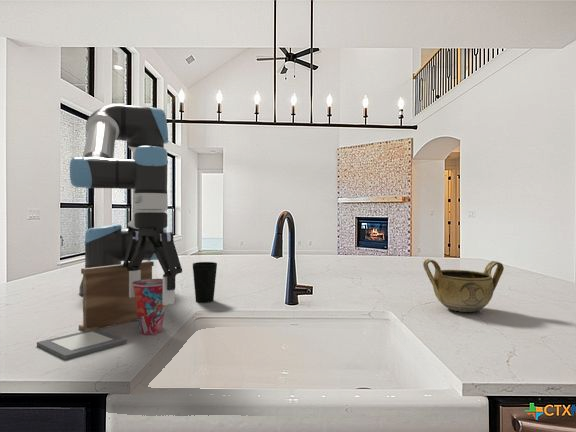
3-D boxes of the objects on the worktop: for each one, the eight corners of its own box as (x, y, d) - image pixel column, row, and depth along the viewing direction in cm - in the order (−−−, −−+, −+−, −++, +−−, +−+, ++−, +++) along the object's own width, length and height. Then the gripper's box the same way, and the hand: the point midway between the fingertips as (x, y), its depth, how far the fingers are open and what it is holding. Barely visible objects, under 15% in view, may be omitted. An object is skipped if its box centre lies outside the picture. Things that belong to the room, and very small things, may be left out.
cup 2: (211, 304, 128) (211, 265, 128) (188, 302, 130) (188, 264, 130) (220, 298, 136) (220, 262, 136) (198, 297, 137) (198, 261, 137)
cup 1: (169, 335, 97) (169, 284, 96) (130, 338, 94) (130, 285, 94) (169, 324, 105) (169, 277, 105) (133, 326, 103) (133, 278, 103)
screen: (76, 329, 101) (76, 267, 100) (145, 314, 116) (145, 260, 115) (89, 334, 97) (89, 270, 97) (158, 317, 112) (158, 262, 112)
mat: (36, 345, 88) (36, 341, 88) (96, 331, 99) (96, 328, 99) (65, 359, 81) (65, 355, 81) (126, 342, 91) (126, 338, 91)
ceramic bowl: (432, 316, 115) (432, 262, 115) (416, 302, 132) (416, 255, 132) (514, 318, 114) (515, 263, 114) (487, 304, 131) (488, 256, 131)
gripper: (108, 211, 104) (108, 296, 104) (170, 211, 89) (170, 310, 89) (135, 211, 110) (135, 291, 110) (197, 211, 95) (197, 304, 95)
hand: (151, 300), depth 99 cm, fingers open, 13 cm apart
